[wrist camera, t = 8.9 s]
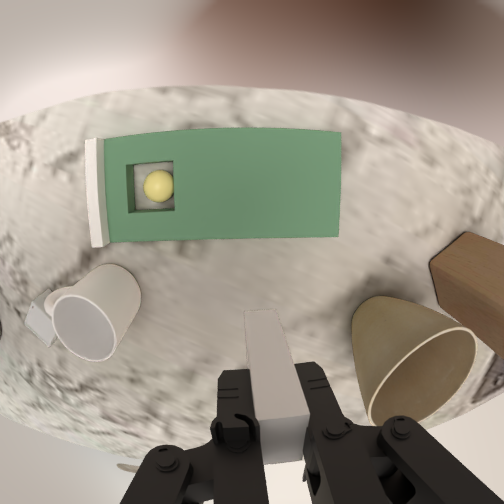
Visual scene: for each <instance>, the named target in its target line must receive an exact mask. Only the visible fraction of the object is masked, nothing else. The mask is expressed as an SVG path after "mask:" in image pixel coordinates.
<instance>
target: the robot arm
mask: <svg viewBox="0 0 504 504" xmlns="http://www.w3.org/2000/svg"><path fill="white" fill-rule="evenodd" d="M244 319H245V337H246V355H247V366H248V369H240V370H224V371H223V372H222V374H221V375H220V377H219V378H218V392H217V417H216V418H215V419H214V420H213V421H212V423H211V427H210V430H211V434H212V439H211V440H210V441H209V442H208V443H206V444H205V445H203V446H200V447H197V448H193V449H189V450H183V449H182V448H179V447H177V446H175V445H161V446H157V447H155V448H153V449H151V450H150V451H149V452H148V454H147V455H146V456H145V458H144V460H143V462H142V463H141V465H140V467H139V469H138V471H137V473H136V474H135V476H134V478H133V480H132V482H131V484H130V486H129V487H128V489H127V491H126V493H125V495H124V497H123V499H122V500H121V502H120V504H203V502H204V501H208V500H212V499H214V504H269V500H268V493H267V486H266V479H265V472H264V465H266V464H276V463H284V462H292V461H298V460H302V457H303V455H304V459H305V463H306V465H305V469H304V474H303V482H304V481H306V480H307V484H308V488H309V492H310V496H311V500H312V504H504V501H503V500H501V499H500V498H499V497H498V496H497V495H496V494H495V493H494V492H493V491H492V490H490V489H489V488H488V487H487V486H486V485H485V484H484V483H483V482H482V481H480V480H479V479H478V478H477V477H476V476H475V475H474V474H473V473H472V472H471V471H470V470H468V469H467V468H466V467H465V466H464V465H463V464H462V463H461V462H460V461H459V460H458V459H456V458H455V457H454V456H453V455H452V454H451V453H450V452H449V451H448V450H447V449H446V448H444V447H443V446H442V445H441V444H440V443H439V442H438V441H437V440H436V439H435V438H434V437H433V436H431V435H430V434H429V433H428V432H427V431H426V430H425V429H424V428H423V427H422V426H421V425H420V424H419V423H418V422H416V421H415V420H414V419H412V418H411V417H407V416H404V415H401V416H394V417H391V418H389V419H388V420H386V421H385V422H384V424H383V426H361V425H357V424H354V423H353V422H352V421H351V420H349V419H348V418H346V417H344V415H343V414H342V412H341V409H340V407H339V405H338V402H337V400H336V398H335V396H334V393H333V391H332V389H331V387H330V384H329V382H328V380H327V377H326V375H325V373H324V371H323V369H322V368H321V367H320V366H319V365H318V364H316V363H315V362H306V363H298V364H294V362H293V359H292V356H291V353H290V350H289V347H288V344H287V341H286V338H285V335H284V332H283V329H282V325H281V322H280V319H279V316H278V313H277V310H276V309H268V310H254V311H244ZM0 339H1V324H0Z"/></svg>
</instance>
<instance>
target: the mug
mask: <svg viewBox="0 0 504 504" xmlns="http://www.w3.org/2000/svg"><path fill="white" fill-rule="evenodd" d="M140 304H141V291H140V288H139V285H138V283H137V281H136V280H135V278H134V277H133V276H132V275H131V274H130V273H129V272H128V271H127V270H126V269H124V268H122V267H120V266H118V265H114V264H104V265H101V266H98V267H96V268H95V269H93V270H92V271H91V272H89V273H88V274H87V275H86V276H85V277H83V278H82V279H81V280H80V281H79V282H77V283H76V284H75V285H74V286H68V287H63V288H60V289H57V290H55V291H53V292H52V293H51V294H49V295H48V296H47V298H46V299H45V302H44V308H45V311H46V312H47V313H48V314H49V315H50V316H51V317H52V324H53V327H54V330H55V332H56V334H57V336H58V338H59V339H60V341H61V342H62V343H63V345H64V346H65V347H66V348H67V349H68V350H69V351H71V352H72V353H73V354H75V355H76V356H78V357H80V358H82V359H84V360H87V361H93V362H100V361H104V360H106V359H108V358H110V357H111V356H112V355H113V353H114V352H115V350H116V348H117V346H118V345H119V343H120V341H121V339H122V338H123V336H124V334H125V333H126V331H127V329H128V327H129V326H130V324H131V322H132V321H133V319H134V317H135V316H136V314H137V312H138V310H139V308H140Z"/></svg>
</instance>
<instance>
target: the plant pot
mask: <svg viewBox="0 0 504 504" xmlns="http://www.w3.org/2000/svg"><path fill="white" fill-rule="evenodd" d="M352 346H353V355H354V362H355V368H356V373H357V379H358V383H359V387H360V391H361V395H362V399H363V402H364V406H365V409H366V413H367V416H368V419H369V422H370V424H371V425H372V426H383V424H384V422H385V421H386V420H388V419H389V418H391V417H394V416H401V415H404V416H407V417H411V418H412V419H414V420H415V421H416V422H418V423H419V422H421V421H423V420H425V419H427V418H428V417H430V416H431V415H433V414H434V413H435V412H437V411H438V410H439V409H441V408H442V407H443V406H444V405H445V404H446V403H447V402H448V401H449V400H450V399H451V398H452V397H453V396H454V395H455V394H456V393H457V392H458V390H459V389H460V388H461V387H462V385H463V384H464V382H465V381H466V379H467V378H468V376H469V374H470V372H471V370H472V368H473V365H474V363H475V360H476V355H477V348H478V344H477V339H476V336H475V334H474V333H473V332H472V331H471V330H470V329H468V328H467V327H465V326H463V325H461V324H460V323H458V322H456V321H454V320H452V319H450V318H448V317H447V316H445V315H443V314H441V313H439V312H436V311H434V310H432V309H429V308H427V307H424V306H421V305H418V304H415V303H412V302H409V301H405V300H401V299H397V298H392V297H387V296H375V297H372V298H370V299H368V300H366V301H365V302H363V303H362V304H361V305H360V306H359V307H358V309H357V310H356V312H355V313H354V316H353V318H352Z"/></svg>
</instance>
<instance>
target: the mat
mask: <svg viewBox="0 0 504 504" xmlns="http://www.w3.org/2000/svg"><path fill="white" fill-rule="evenodd" d="M170 161H173V177H174V204H175V208H167V209H149V210H135V197H134V175H133V165H136V164H146V163H157V162H170ZM85 175H86V194H87V207H88V218H89V227H90V236H91V243H92V247H104V246H106V245H107V244H109V243H111V242H138V241H168V240H203V239H245V238H302V237H338V234H339V217H340V194H341V132H331V131H319V130H305V129H287V128H208V129H190V130H176V131H165V132H155V133H146V134H137V135H130V136H123V137H116V138H110V139H99V138H94V139H88V140H85Z"/></svg>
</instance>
